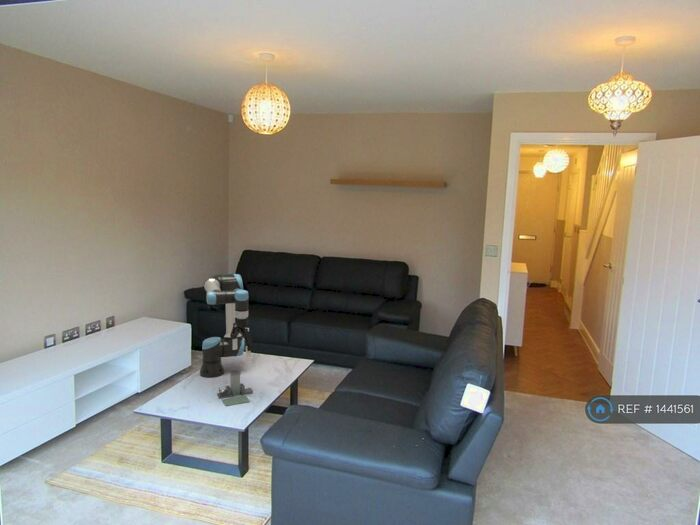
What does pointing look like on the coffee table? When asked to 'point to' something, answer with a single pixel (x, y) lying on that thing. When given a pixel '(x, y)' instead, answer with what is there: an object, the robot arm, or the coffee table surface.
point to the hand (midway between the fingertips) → (241, 352)
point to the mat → (235, 400)
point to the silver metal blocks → (227, 391)
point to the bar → (235, 382)
